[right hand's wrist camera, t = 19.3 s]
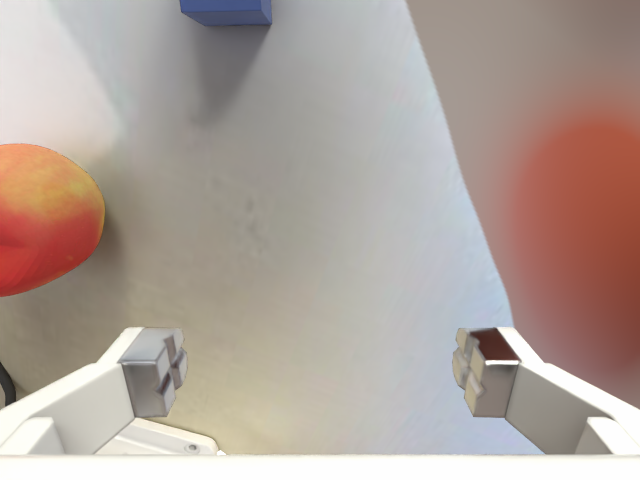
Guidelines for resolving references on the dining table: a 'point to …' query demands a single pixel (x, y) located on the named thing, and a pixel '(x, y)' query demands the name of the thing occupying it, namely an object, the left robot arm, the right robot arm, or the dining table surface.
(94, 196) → the apple
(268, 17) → the block
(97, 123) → the dining table surface
